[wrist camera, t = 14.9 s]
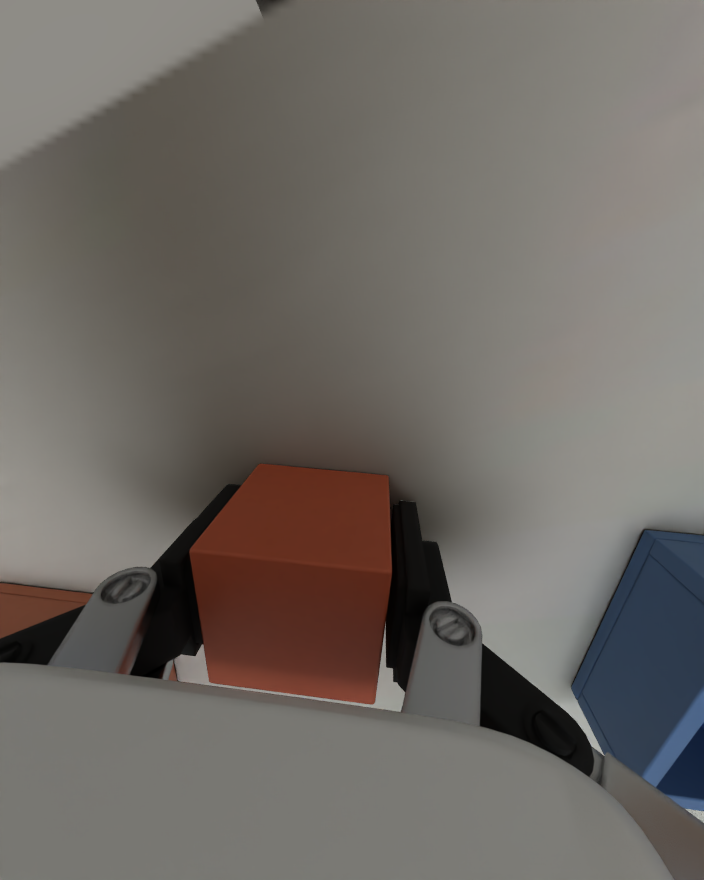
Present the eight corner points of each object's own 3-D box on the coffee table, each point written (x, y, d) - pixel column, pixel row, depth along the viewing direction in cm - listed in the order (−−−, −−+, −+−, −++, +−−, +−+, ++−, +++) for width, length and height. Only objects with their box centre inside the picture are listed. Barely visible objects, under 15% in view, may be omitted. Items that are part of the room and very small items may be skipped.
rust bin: (-55, 575, 15) (-178, 649, 12) (161, 601, 14) (96, 686, 11) (4, 692, 18) (-79, 776, 15) (185, 718, 17) (140, 811, 14)
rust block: (258, 462, 11) (187, 549, 7) (389, 474, 11) (392, 572, 7) (263, 564, 13) (208, 684, 9) (377, 577, 13) (374, 706, 9)
